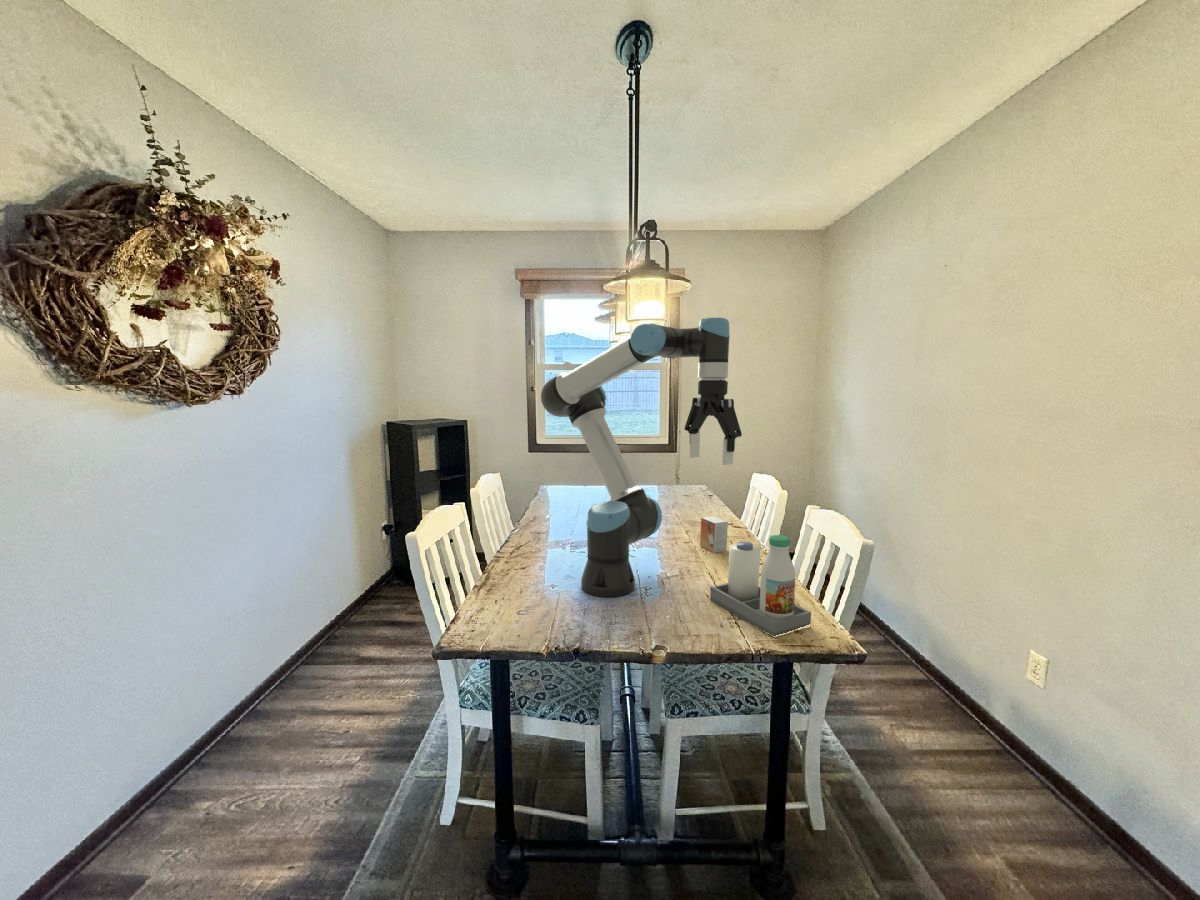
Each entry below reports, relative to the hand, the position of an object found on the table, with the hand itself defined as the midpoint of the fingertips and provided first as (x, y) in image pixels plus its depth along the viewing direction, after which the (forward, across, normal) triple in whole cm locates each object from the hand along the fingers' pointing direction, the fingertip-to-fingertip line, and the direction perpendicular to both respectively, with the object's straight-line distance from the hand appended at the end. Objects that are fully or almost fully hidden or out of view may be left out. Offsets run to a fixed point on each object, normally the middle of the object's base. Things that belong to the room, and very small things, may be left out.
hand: (710, 460), depth 133 cm
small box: (+37, +29, -26) cm, 54 cm away
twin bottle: (+36, -10, -4) cm, 37 cm away
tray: (+37, -15, -4) cm, 40 cm away
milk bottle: (+36, -21, -4) cm, 42 cm away
